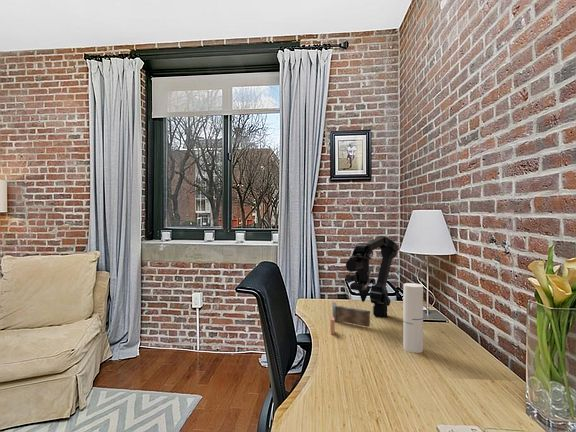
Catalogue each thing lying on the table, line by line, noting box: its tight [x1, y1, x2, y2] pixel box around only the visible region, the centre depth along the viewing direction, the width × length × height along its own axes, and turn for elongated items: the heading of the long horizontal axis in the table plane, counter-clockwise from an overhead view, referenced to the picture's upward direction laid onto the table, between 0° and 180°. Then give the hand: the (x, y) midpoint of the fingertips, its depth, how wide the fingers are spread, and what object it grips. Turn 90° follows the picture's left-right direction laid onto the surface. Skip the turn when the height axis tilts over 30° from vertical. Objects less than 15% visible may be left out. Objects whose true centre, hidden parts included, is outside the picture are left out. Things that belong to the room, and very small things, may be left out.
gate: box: [337, 305, 371, 328], centre depth 155 cm, size 16×2×7 cm, turn 56°
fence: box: [329, 302, 338, 335], centre depth 156 cm, size 4×27×8 cm, turn 176°
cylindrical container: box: [402, 282, 424, 354], centre depth 127 cm, size 7×7×25 cm
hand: (363, 301), depth 159 cm, fingers closed
